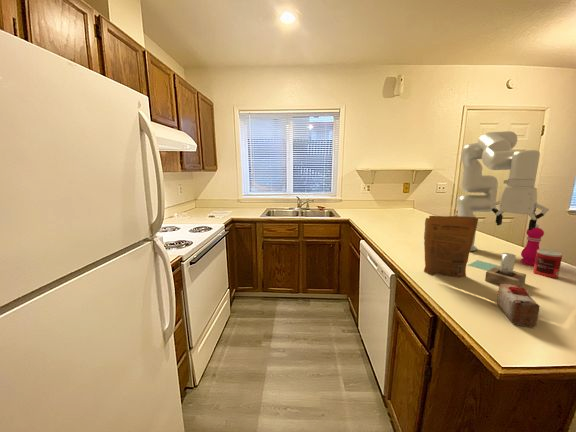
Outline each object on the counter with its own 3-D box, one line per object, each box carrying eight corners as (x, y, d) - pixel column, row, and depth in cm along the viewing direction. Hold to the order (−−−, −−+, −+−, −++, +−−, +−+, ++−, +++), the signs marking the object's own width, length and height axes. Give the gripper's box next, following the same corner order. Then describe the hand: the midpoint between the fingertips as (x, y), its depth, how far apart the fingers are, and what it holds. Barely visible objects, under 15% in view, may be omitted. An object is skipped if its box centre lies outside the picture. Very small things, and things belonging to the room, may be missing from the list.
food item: (492, 302, 90) (496, 277, 88) (520, 306, 87) (525, 280, 85) (509, 324, 77) (514, 296, 76) (542, 330, 75) (548, 300, 73)
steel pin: (496, 281, 103) (500, 254, 100) (500, 279, 105) (504, 252, 103) (508, 285, 100) (513, 257, 97) (512, 282, 102) (517, 255, 99)
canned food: (550, 272, 112) (554, 249, 109) (562, 280, 104) (567, 256, 102) (528, 271, 114) (532, 248, 112) (539, 278, 107) (544, 254, 105)
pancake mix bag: (471, 283, 104) (480, 218, 98) (420, 274, 113) (425, 215, 108) (469, 277, 110) (477, 215, 104) (420, 269, 119) (425, 212, 113)
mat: (467, 267, 120) (467, 265, 120) (477, 261, 126) (477, 260, 126) (495, 275, 111) (495, 273, 111) (504, 269, 117) (504, 267, 117)
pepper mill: (543, 267, 118) (551, 226, 114) (526, 266, 119) (533, 226, 115) (532, 261, 125) (539, 222, 121) (516, 260, 126) (522, 222, 122)
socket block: (484, 283, 104) (486, 271, 103) (494, 276, 109) (495, 266, 108) (515, 292, 96) (517, 280, 95) (524, 285, 101) (526, 274, 100)
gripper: (489, 183, 99) (483, 224, 103) (550, 185, 85) (541, 233, 88) (496, 182, 103) (491, 222, 107) (556, 184, 89) (547, 230, 92)
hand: (514, 227), depth 98 cm, fingers open, 9 cm apart
